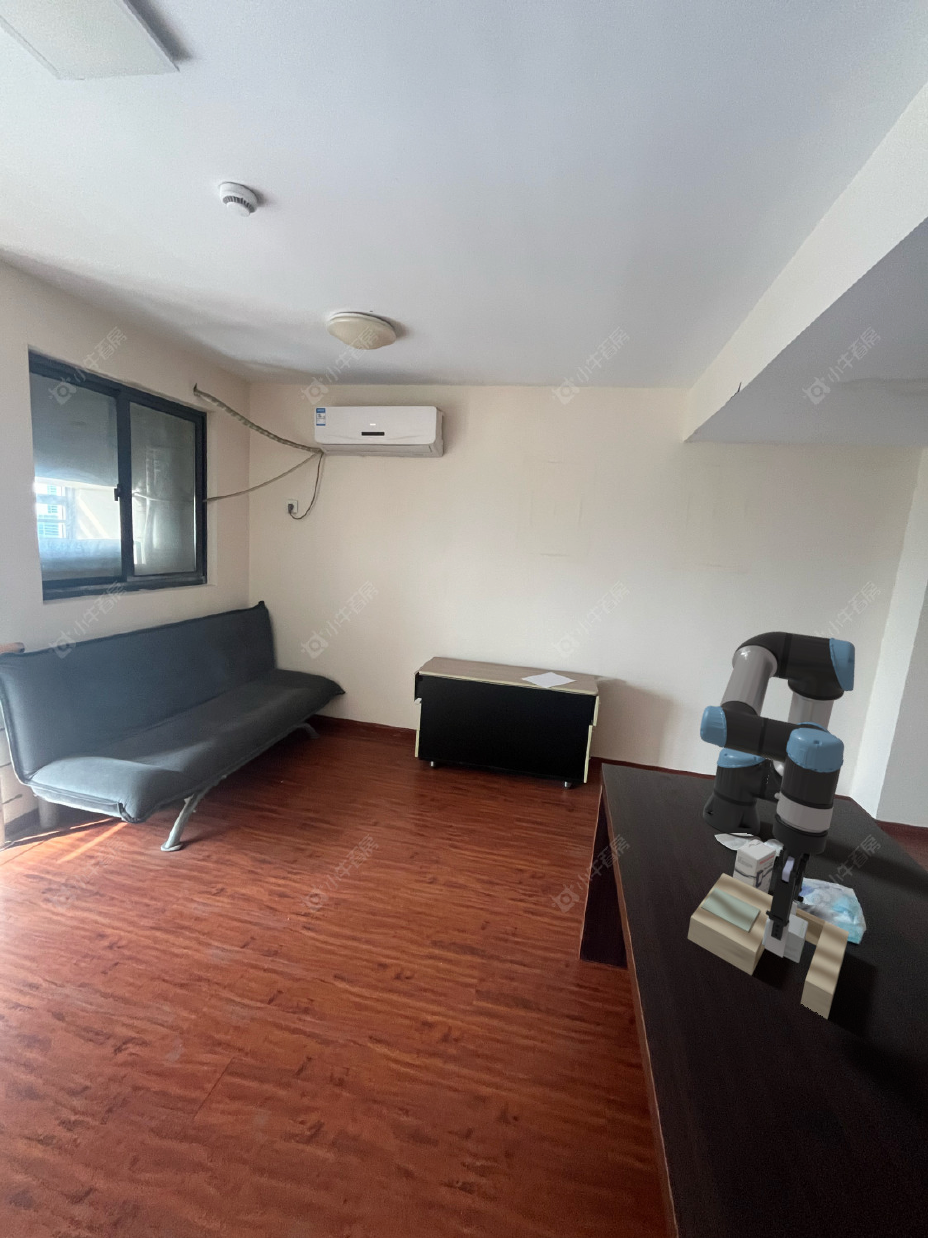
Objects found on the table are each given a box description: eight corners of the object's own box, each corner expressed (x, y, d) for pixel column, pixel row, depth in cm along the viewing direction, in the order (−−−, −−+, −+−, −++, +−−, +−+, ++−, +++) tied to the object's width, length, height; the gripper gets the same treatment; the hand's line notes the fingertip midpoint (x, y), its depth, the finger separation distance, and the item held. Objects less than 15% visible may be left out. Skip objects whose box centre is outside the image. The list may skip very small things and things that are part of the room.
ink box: (750, 906, 115) (758, 859, 113) (729, 893, 119) (736, 848, 117) (768, 894, 119) (777, 849, 118) (747, 881, 123) (755, 838, 122)
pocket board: (720, 892, 119) (723, 871, 118) (844, 953, 103) (849, 930, 102) (687, 938, 104) (691, 915, 103) (827, 1019, 88) (832, 993, 87)
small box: (799, 965, 84) (804, 938, 83) (760, 945, 87) (765, 920, 87) (805, 945, 88) (809, 920, 87) (767, 928, 92) (771, 904, 91)
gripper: (787, 794, 94) (767, 904, 97) (762, 832, 80) (739, 958, 84) (836, 810, 89) (813, 926, 92) (818, 854, 75) (791, 987, 79)
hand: (778, 941), depth 88 cm, fingers closed on small box, 6 cm apart
